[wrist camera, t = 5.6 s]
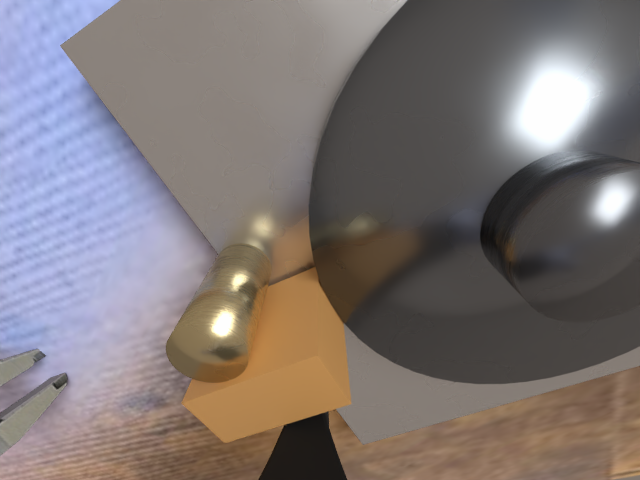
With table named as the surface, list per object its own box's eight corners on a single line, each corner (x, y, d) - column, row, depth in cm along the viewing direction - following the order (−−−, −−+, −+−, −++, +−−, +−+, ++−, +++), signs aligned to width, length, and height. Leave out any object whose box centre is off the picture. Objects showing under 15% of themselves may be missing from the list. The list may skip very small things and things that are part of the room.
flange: (859, -278, 6) (1901, -976, 2) (752, 286, 11) (959, 383, 8) (112, 161, 9) (-27, 212, 6) (317, 419, 15) (317, 528, 11)
